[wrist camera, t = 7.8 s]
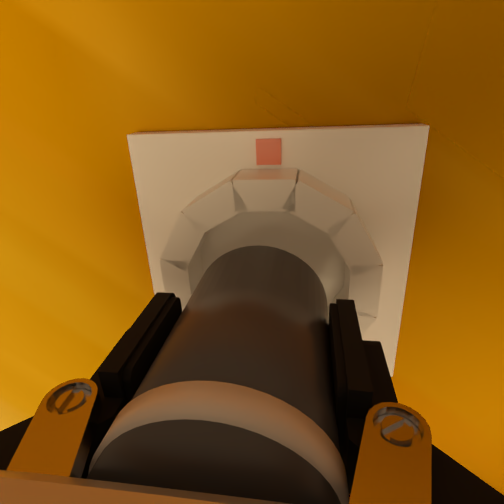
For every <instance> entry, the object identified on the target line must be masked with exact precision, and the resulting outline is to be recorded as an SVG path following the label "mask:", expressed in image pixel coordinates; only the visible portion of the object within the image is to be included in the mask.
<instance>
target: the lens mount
mask: <svg viewBox="0 0 504 504" xmlns="http://www.w3.org/2000/svg"><path fill="white" fill-rule="evenodd" d="M428 133H429V126H428V125H425V124H392V125H359V126H326V127H294V128H261V129H228V130H195V131H163V132H136V133H132V134H128V135H127V139H128V145H129V151H130V157H131V162H132V168H133V174H134V180H135V185H136V191H137V197H138V203H139V208H140V214H141V220H142V226H143V231H144V237H145V243H146V249H147V254H148V260H149V266H150V272H151V277H152V283H153V289H154V294H156V293H157V292H164V293H174V294H175V296H176V297H179V298H180V300H181V307H182V311H183V310H184V308H185V306H186V304H187V303H188V301H189V299H190V297H191V296H192V294H193V292H194V290H195V289H196V287H197V285H198V283H199V282H200V280H201V278H202V277H203V275H204V273H205V272H206V270H207V268H208V267H209V266H210V265H211V264H212V263H213V262H214V261H215V260H216V259H217V258H219V257H220V256H222V255H223V254H225V253H227V252H229V251H231V250H234V249H237V248H240V247H246V246H257V245H260V246H270V247H275V248H279V249H282V250H285V251H287V252H289V253H291V254H294V255H295V256H297V257H298V258H300V259H302V260H303V261H304V262H305V263H307V264H308V265H309V266H310V267H311V268H312V269H313V270H314V272H315V273H316V274H317V276H318V277H319V279H320V281H321V282H322V284H323V287H324V290H325V293H326V297H327V306H328V318H329V306H330V303H336V299H350V300H354V303H355V307H356V312H357V317H358V322H359V326H360V331H361V336H362V340H367V341H380V342H381V345H382V348H383V352H384V355H385V359H386V362H387V366H388V369H389V373H390V376H391V377H393V370H394V364H395V357H396V350H397V343H398V337H399V330H400V323H401V316H402V309H403V303H404V296H405V289H406V282H407V276H408V269H409V262H410V255H411V248H412V242H413V235H414V228H415V221H416V214H417V208H418V201H419V194H420V187H421V181H422V174H423V167H424V160H425V153H426V147H427V140H428Z"/></svg>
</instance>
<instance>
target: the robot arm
mask: <svg viewBox="0 0 504 504" xmlns="http://www.w3.org/2000/svg"><path fill="white" fill-rule="evenodd" d="M181 313H182V307H181V300H180V298H179V297H176V296H175V294H174V293H164V292H157V293H156V294H155V296H154V297H153V298H152V300H151V301H150V302H149V304H148V305H147V306H146V308H145V309H144V310H143V312H142V313H141V314H140V316H139V317H138V318H137V320H136V321H135V322H134V324H133V325H132V326H131V328H130V329H128V330H127V331H126V332H125V334H124V335H123V336H122V338H121V339H120V340H119V342H118V343H117V344H116V346H115V347H114V348H113V350H112V351H111V352H110V353H109V355H108V356H107V357H106V359H105V360H104V361H103V363H102V364H101V365H100V367H99V368H98V369H97V371H96V372H95V373H94V375H93V376H92V377H91V379H90V380H89V379H85V378H81V379H73V380H69V381H66V382H64V383H62V384H60V385H58V386H56V387H55V388H53V389H52V390H51V391H50V392H48V393H47V394H46V395H45V397H44V398H43V400H42V401H41V403H40V405H39V407H38V409H37V411H36V413H35V415H34V416H33V417H31V418H28V419H26V420H24V421H22V422H20V423H18V424H15V425H13V426H11V427H9V428H7V429H4V430H2V431H0V504H290V503H282V502H274V501H266V500H258V499H250V498H242V497H234V496H226V495H218V494H210V493H202V492H193V491H185V490H177V489H169V488H160V487H152V486H144V485H135V484H127V483H118V482H110V481H101V480H92V479H86V478H87V476H88V473H89V466H90V463H91V460H92V458H93V455H94V454H95V452H96V450H97V448H98V447H99V445H100V443H101V442H102V440H103V438H104V437H105V435H106V433H107V432H108V430H109V428H110V427H111V425H112V423H113V421H114V420H115V418H116V417H117V415H118V414H119V412H120V411H121V410H122V409H123V408H124V407H125V406H126V405H127V404H128V403H129V402H130V401H131V400H132V398H133V396H134V395H135V393H136V391H137V389H138V388H139V386H140V384H141V382H142V381H143V379H144V377H145V375H146V374H147V372H148V370H149V369H150V367H151V365H152V363H153V362H154V360H155V358H156V356H157V355H158V353H159V351H160V349H161V348H162V346H163V344H164V343H165V341H166V339H167V337H168V336H169V334H170V332H171V330H172V329H173V327H174V325H175V323H176V322H177V320H178V318H179V316H180V315H181ZM329 338H330V350H331V362H332V375H333V387H334V399H335V412H336V422H337V427H338V437H339V449H340V455H341V458H342V460H343V463H344V465H345V470H346V475H347V483H348V493H349V494H350V500H349V504H504V495H502V494H501V493H499V492H498V491H497V490H495V489H494V488H492V487H491V486H490V485H488V484H487V483H485V482H484V481H483V480H481V479H480V478H479V477H477V476H476V475H474V474H473V473H472V472H470V471H469V470H467V469H466V468H465V467H463V466H462V465H460V464H459V463H458V462H456V461H455V460H453V459H452V458H451V457H449V456H448V455H446V454H445V453H444V452H442V451H441V450H439V449H438V448H437V447H435V446H434V445H432V435H431V430H430V427H429V425H428V423H427V422H426V420H425V419H424V418H423V417H422V416H421V415H420V414H419V413H418V412H416V411H415V410H413V409H412V408H410V407H408V406H405V405H403V404H400V403H398V401H397V398H396V394H395V390H394V387H393V383H392V380H391V376H390V373H389V369H388V366H387V362H386V359H385V355H384V352H383V348H382V345H381V342H380V341H367V340H362V336H361V331H360V326H359V322H358V317H357V312H356V307H355V303H354V300H350V299H336V303H330V306H329Z"/></svg>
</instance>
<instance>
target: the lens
mask: <svg viewBox="0 0 504 504" xmlns="http://www.w3.org/2000/svg"><path fill="white" fill-rule="evenodd" d="M86 479H92V480H101V481H110V482H118V483H127V484H135V485H144V486H152V487H160V488H169V489H177V490H185V491H193V492H202V493H210V494H218V495H226V496H234V497H242V498H250V499H258V500H266V501H274V502H282V503H290V504H349V494H348V483H347V475H346V470H345V465H344V463H343V460H342V458H341V455H340V449H339V437H338V427H337V422H336V412H335V399H334V387H333V375H332V362H331V350H330V338H329V318H328V306H327V297H326V293H325V290H324V287H323V284H322V282H321V281H320V279H319V277H318V276H317V274H316V273H315V272H314V270H313V269H312V268H311V267H310V266H309V265H308V264H307V263H305V262H304V261H303V260H302V259H300V258H298V257H297V256H295V255H294V254H291V253H289V252H287V251H285V250H282V249H279V248H275V247H270V246H260V245H257V246H246V247H240V248H237V249H234V250H231V251H229V252H227V253H225V254H223V255H222V256H220V257H219V258H217V259H216V260H215V261H214V262H213V263H212V264H211V265H210V266H209V267H208V268H207V270H206V272H205V273H204V275H203V277H202V278H201V280H200V282H199V283H198V285H197V287H196V289H195V290H194V292H193V294H192V296H191V297H190V299H189V301H188V303H187V304H186V306H185V308H184V310H183V311H182V313H181V315H180V316H179V318H178V320H177V322H176V323H175V325H174V327H173V329H172V330H171V332H170V334H169V336H168V337H167V339H166V341H165V343H164V344H163V346H162V348H161V349H160V351H159V353H158V355H157V356H156V358H155V360H154V362H153V363H152V365H151V367H150V369H149V370H148V372H147V374H146V375H145V377H144V379H143V381H142V382H141V384H140V386H139V388H138V389H137V391H136V393H135V395H134V396H133V398H132V400H131V401H130V402H129V403H128V404H127V405H126V406H125V407H124V408H123V409H122V410H121V411H120V412H119V414H118V415H117V417H116V418H115V420H114V421H113V423H112V425H111V427H110V428H109V430H108V432H107V433H106V435H105V437H104V438H103V440H102V442H101V443H100V445H99V447H98V448H97V450H96V452H95V454H94V455H93V458H92V460H91V463H90V466H89V473H88V476H87V478H86Z"/></svg>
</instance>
